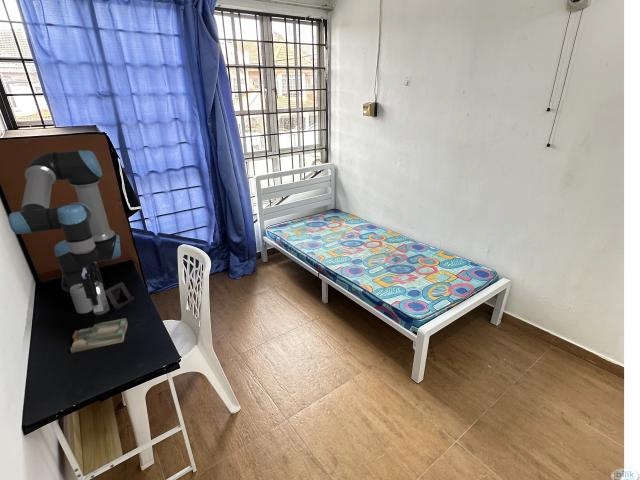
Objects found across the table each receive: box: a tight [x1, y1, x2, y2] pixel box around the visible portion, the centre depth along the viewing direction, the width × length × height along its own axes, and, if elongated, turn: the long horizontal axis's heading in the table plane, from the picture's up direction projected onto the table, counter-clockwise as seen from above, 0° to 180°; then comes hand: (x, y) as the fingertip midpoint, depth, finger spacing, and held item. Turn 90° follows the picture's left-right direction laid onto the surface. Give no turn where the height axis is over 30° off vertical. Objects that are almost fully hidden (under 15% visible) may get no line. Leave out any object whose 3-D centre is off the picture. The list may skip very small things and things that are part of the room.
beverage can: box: [69, 283, 93, 315], centre depth 141 cm, size 6×6×12 cm
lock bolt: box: [72, 329, 92, 343], centre depth 124 cm, size 4×5×2 cm
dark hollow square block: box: [104, 281, 135, 311], centre depth 147 cm, size 9×8×8 cm
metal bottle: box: [90, 280, 110, 316], centre depth 121 cm, size 5×5×12 cm
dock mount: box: [70, 318, 129, 354], centre depth 126 cm, size 12×16×4 cm
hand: (100, 306), depth 123 cm, fingers closed on metal bottle, 5 cm apart
